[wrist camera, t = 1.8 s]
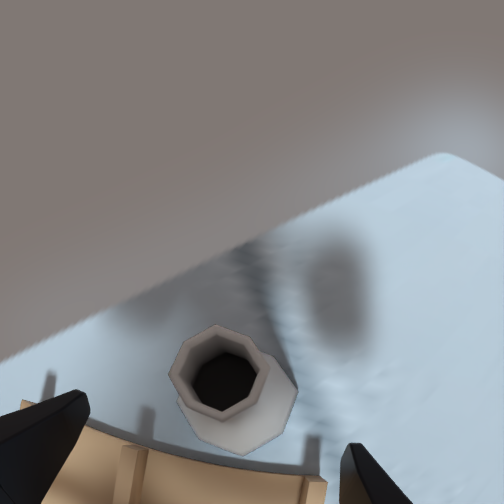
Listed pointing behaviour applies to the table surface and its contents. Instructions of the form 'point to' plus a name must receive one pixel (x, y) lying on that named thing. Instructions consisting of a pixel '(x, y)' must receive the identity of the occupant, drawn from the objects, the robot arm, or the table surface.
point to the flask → (231, 390)
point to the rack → (166, 478)
